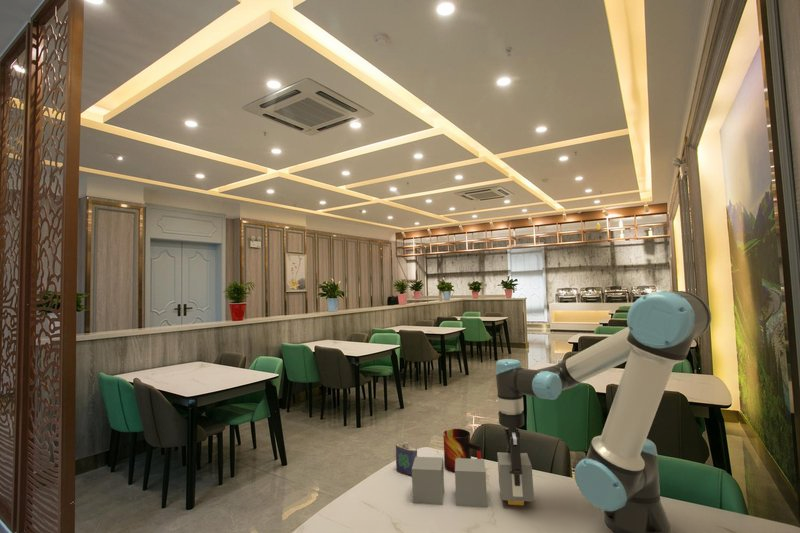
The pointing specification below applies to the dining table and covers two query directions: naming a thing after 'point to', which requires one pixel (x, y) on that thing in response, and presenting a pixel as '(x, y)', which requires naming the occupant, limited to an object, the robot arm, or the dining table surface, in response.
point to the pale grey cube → (506, 477)
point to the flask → (405, 458)
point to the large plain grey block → (428, 480)
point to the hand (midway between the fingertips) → (515, 487)
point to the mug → (458, 447)
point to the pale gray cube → (470, 482)
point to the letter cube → (515, 502)
